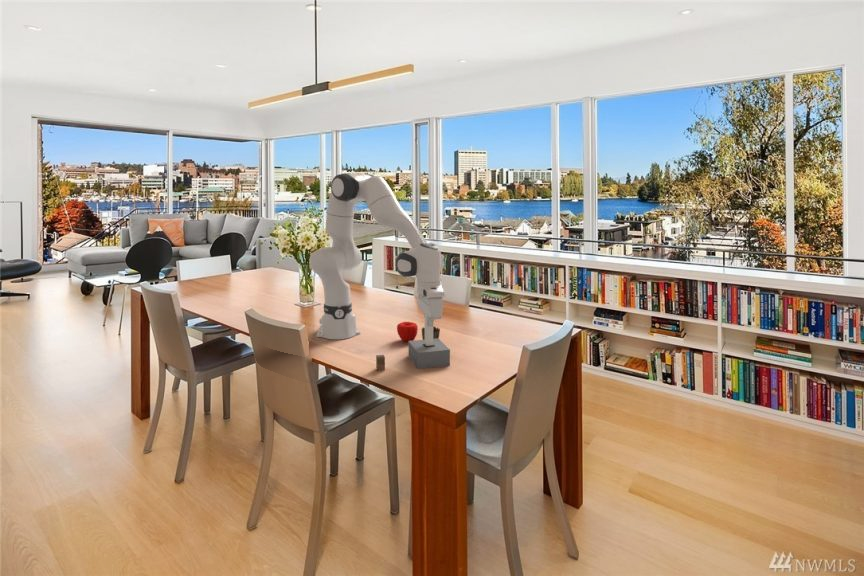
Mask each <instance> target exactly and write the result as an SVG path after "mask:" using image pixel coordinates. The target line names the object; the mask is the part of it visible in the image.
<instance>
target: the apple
mask: <svg viewBox="0 0 864 576" xmlns="http://www.w3.org/2000/svg"><path fill="white" fill-rule="evenodd" d="M396 330H397V334H398V336H399V338H400V340H401V341H402V342H405V343H409V341H414V340H415V339H416V337H417V335H418V330H419V328H418V325H417V323H415V322H413V321H403V322H399V323H398V324H397V325H396Z"/></svg>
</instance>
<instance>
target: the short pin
mask: <svg viewBox="0 0 864 576" xmlns="http://www.w3.org/2000/svg"><path fill="white" fill-rule="evenodd" d="M375 356H376V357H375V358H376V360H375V361H376V368H377V369H376V371H377V370H378V371H377V372H383V371H382V370H385V371H386V361H385V360H386V357H385V354H376V355H375Z"/></svg>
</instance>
